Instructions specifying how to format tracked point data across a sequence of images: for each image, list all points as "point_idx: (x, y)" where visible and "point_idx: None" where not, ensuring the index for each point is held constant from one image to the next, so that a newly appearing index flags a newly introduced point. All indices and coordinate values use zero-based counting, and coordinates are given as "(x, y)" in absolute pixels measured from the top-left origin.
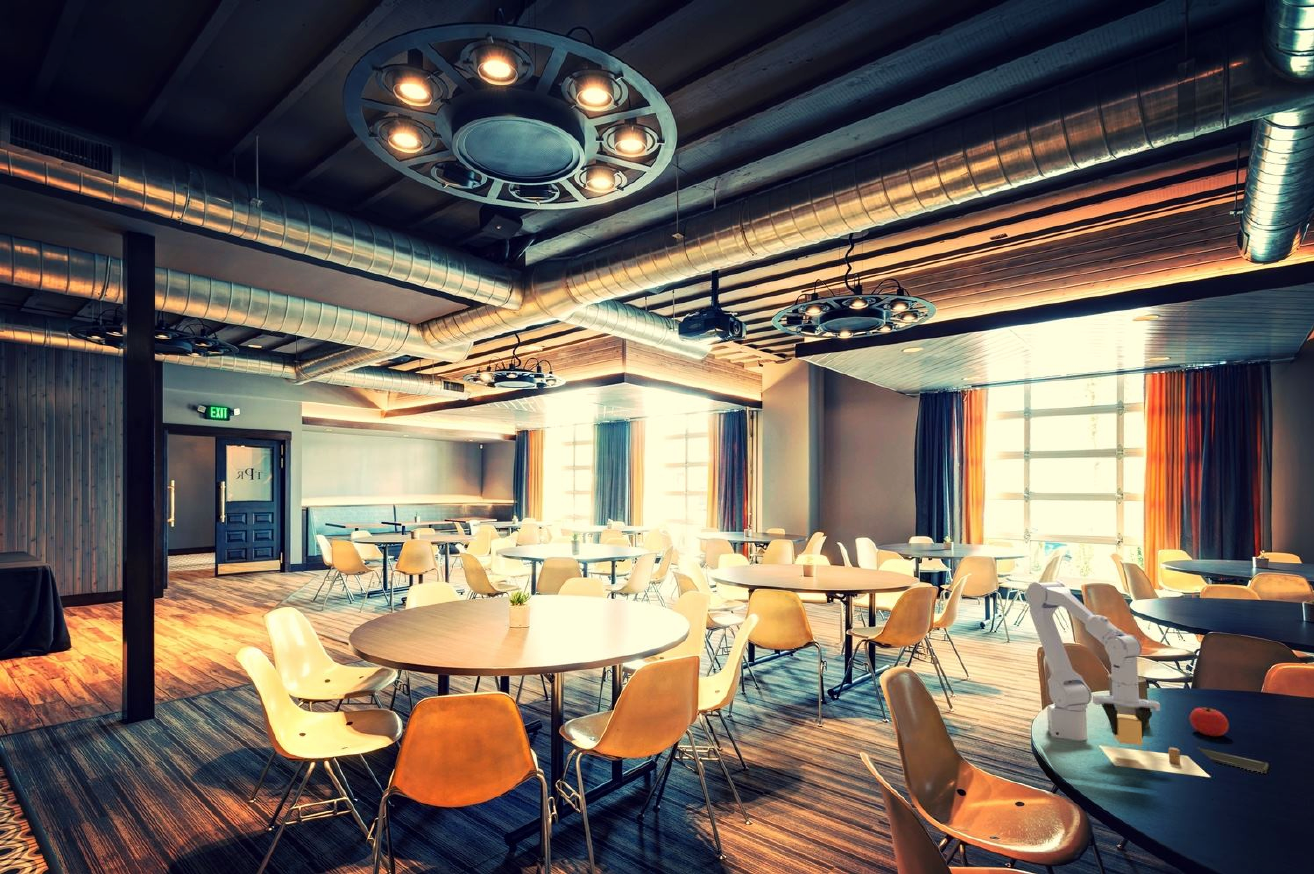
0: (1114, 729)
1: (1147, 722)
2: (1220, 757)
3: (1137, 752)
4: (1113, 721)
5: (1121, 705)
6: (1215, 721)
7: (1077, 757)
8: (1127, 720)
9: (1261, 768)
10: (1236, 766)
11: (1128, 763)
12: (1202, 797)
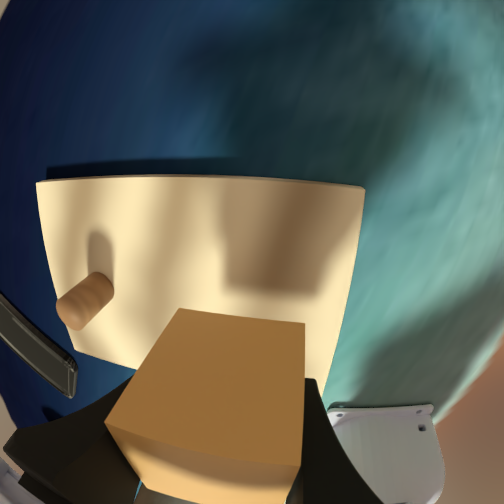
0: (319, 402)
1: (75, 412)
2: (33, 349)
3: None
4: (331, 449)
5: None
6: None
7: (450, 290)
8: (215, 451)
9: None
10: (12, 308)
11: (283, 234)
12: (115, 6)
